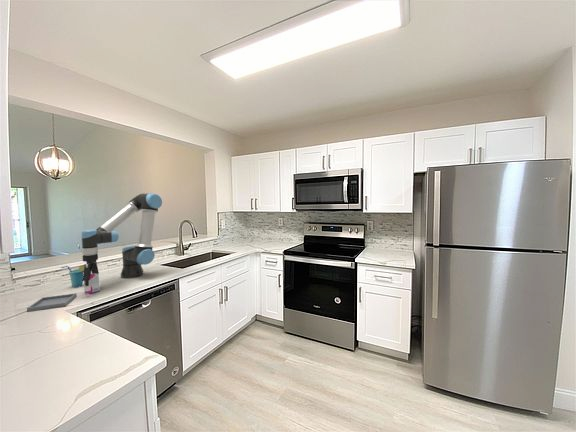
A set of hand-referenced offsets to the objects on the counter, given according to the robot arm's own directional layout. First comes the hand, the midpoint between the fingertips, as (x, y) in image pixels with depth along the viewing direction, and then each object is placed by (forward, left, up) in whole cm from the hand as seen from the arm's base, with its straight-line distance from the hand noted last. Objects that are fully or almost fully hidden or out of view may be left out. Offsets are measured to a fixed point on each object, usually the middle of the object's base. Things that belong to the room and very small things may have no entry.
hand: (91, 287), depth 154 cm
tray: (+14, +13, -3) cm, 19 cm away
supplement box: (0, 0, -3) cm, 3 cm away
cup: (+14, -18, -3) cm, 23 cm away
